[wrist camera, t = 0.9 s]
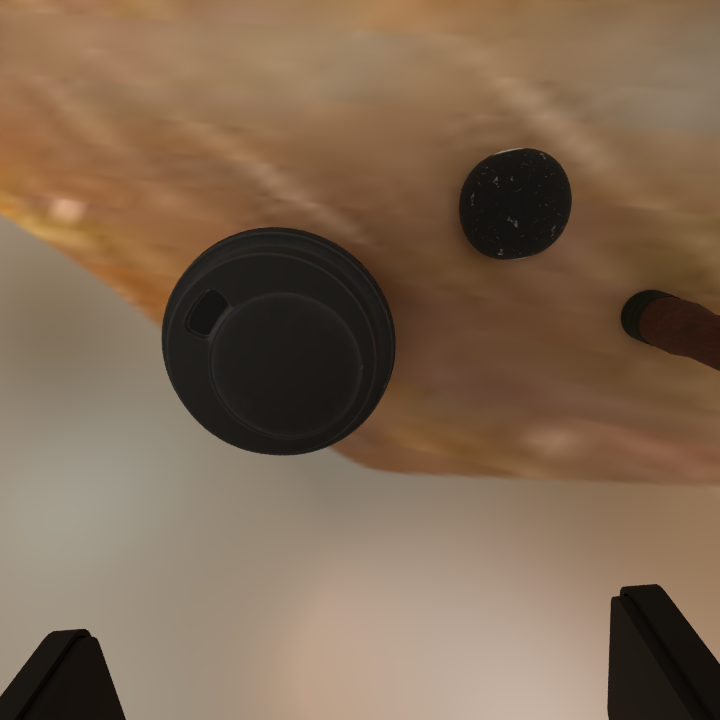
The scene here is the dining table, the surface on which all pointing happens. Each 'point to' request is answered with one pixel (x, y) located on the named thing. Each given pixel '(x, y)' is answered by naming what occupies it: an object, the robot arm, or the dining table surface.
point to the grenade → (674, 326)
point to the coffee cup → (278, 341)
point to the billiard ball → (515, 203)
